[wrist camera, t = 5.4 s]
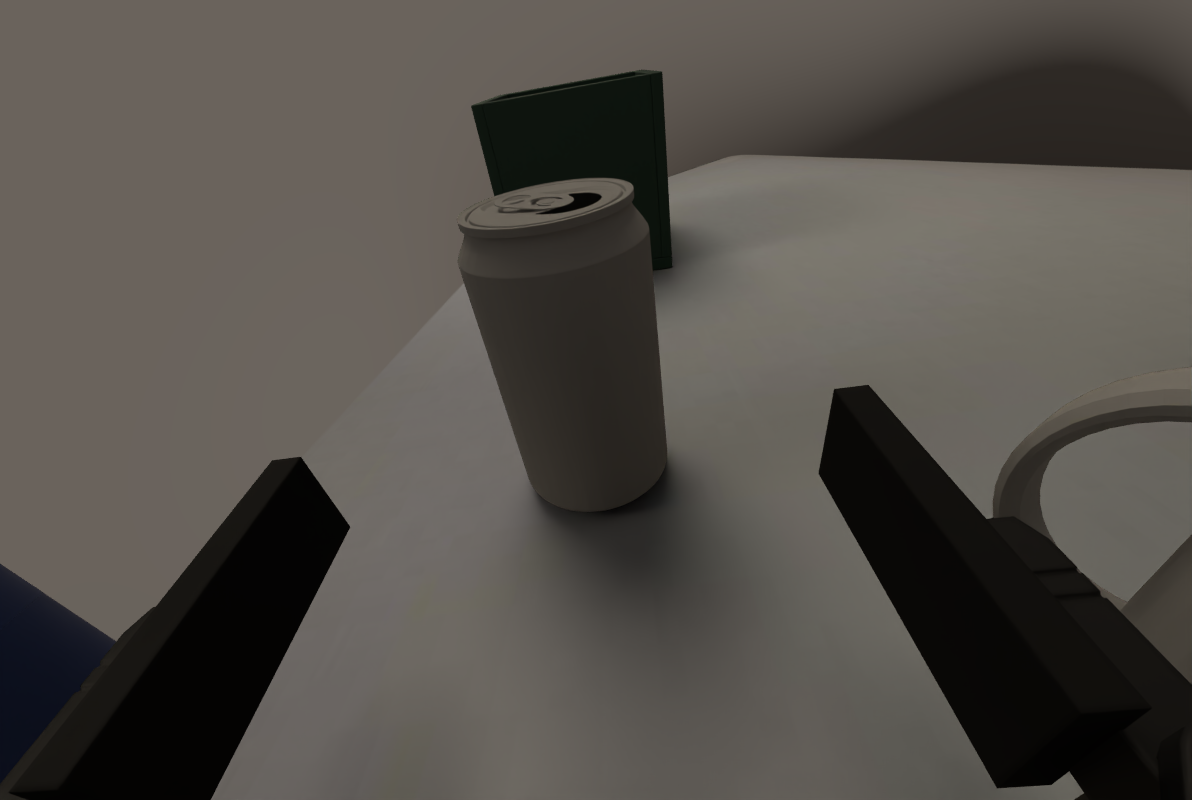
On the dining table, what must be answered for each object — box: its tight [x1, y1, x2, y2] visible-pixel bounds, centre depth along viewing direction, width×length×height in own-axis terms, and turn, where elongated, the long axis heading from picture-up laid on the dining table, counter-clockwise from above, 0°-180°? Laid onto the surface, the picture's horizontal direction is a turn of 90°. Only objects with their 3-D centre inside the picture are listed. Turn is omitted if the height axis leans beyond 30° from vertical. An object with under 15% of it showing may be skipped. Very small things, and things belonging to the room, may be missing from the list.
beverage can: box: [457, 178, 667, 512], centre depth 18 cm, size 6×6×12 cm
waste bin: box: [471, 70, 672, 270], centre depth 42 cm, size 14×14×14 cm
